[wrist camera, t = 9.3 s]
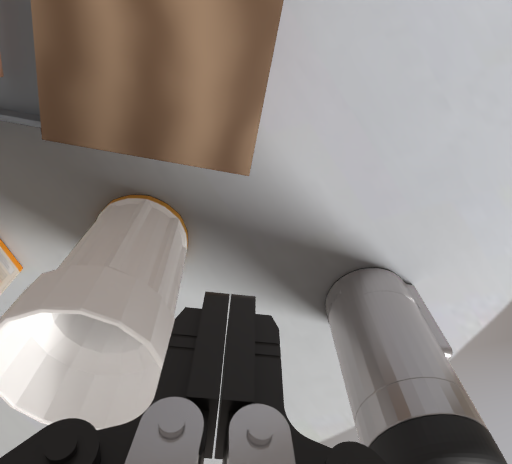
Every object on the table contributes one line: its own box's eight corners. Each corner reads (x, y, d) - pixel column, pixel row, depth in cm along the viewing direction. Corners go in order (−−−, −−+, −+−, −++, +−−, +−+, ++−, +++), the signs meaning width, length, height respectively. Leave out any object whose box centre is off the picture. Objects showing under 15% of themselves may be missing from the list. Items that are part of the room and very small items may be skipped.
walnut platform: (290, -58, 27) (297, -69, 23) (248, 157, 35) (248, 176, 31) (54, -116, 25) (19, -139, 22) (66, 124, 33) (42, 139, 29)
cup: (68, 191, 36) (-61, 319, 21) (186, 176, 36) (139, 297, 21) (106, 285, 42) (26, 440, 27) (208, 274, 41) (185, 425, 26)
